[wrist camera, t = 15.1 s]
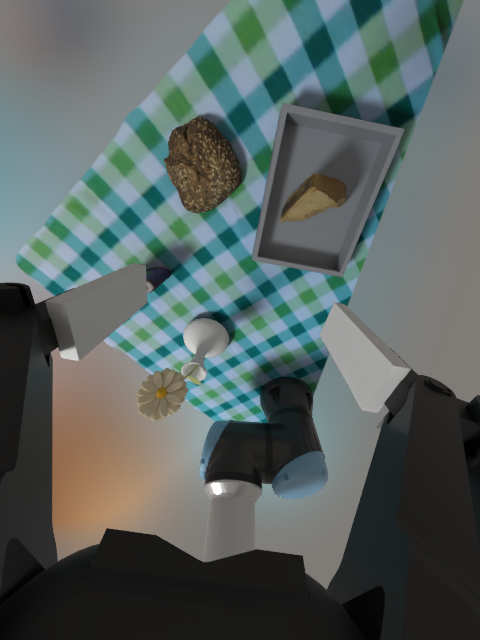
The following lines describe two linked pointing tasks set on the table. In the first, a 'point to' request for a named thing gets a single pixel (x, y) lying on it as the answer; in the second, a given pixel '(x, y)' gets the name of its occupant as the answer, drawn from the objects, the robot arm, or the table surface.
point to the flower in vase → (182, 370)
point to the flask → (156, 277)
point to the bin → (332, 161)
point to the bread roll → (202, 165)
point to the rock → (314, 198)
